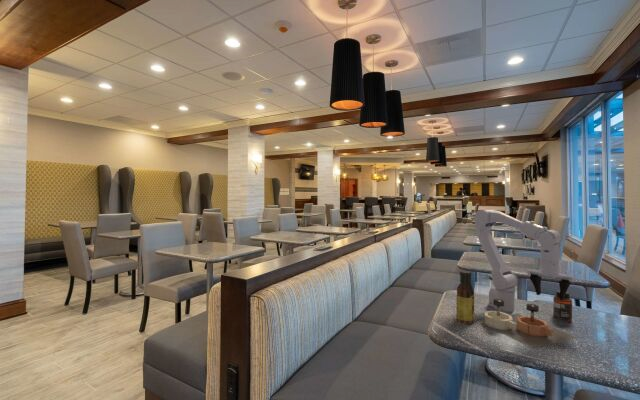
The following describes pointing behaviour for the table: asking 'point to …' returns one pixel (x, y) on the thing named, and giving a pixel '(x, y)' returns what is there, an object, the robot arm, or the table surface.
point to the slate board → (533, 340)
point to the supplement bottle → (562, 307)
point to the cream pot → (499, 320)
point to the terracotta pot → (533, 327)
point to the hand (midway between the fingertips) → (550, 296)
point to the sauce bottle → (465, 299)
